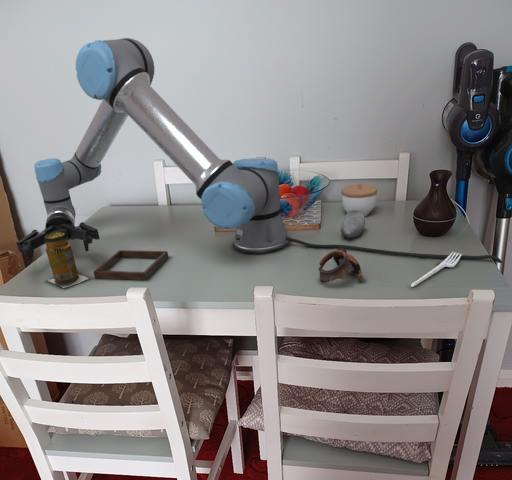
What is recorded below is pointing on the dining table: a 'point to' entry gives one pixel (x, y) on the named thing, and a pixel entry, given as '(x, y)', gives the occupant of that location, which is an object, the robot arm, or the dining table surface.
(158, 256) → the caddy
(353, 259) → the brown curved ring piece
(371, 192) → the trinket box
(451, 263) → the fork
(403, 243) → the dining table surface
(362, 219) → the grey oval rock
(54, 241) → the condiment
